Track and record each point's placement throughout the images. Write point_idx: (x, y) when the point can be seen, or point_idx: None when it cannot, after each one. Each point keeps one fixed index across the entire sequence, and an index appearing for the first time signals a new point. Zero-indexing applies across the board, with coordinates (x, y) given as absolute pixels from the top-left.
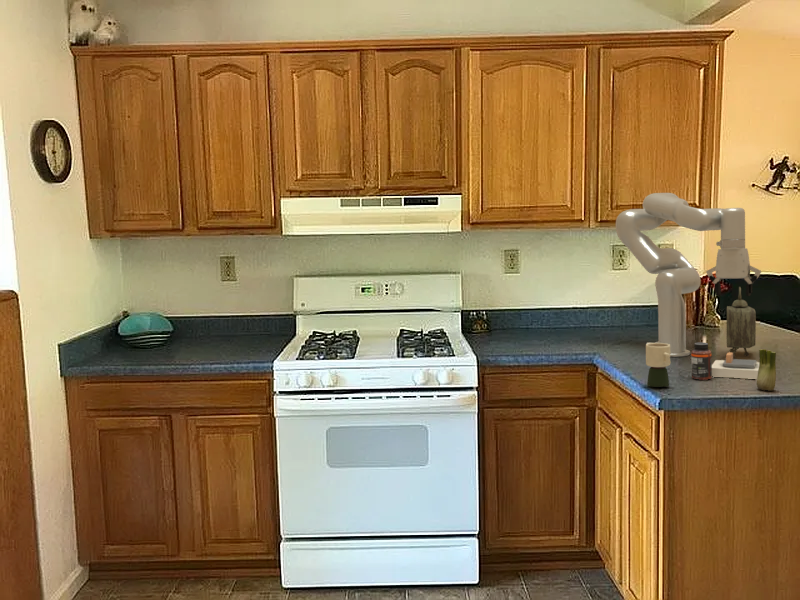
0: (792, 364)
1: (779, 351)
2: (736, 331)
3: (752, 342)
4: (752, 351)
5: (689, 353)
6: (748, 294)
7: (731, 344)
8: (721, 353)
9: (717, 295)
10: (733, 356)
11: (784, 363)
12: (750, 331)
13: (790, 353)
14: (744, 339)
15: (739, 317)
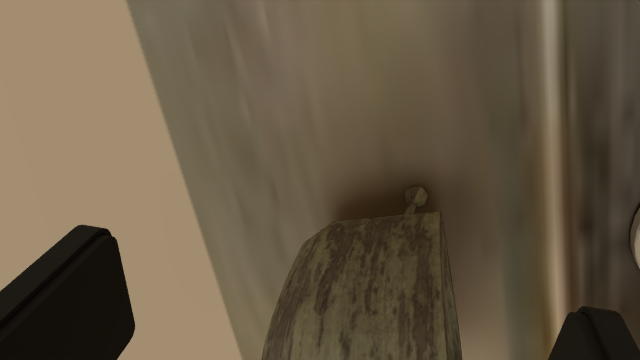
0: (172, 135)
1: None
2: (386, 252)
3: (317, 234)
4: None
5: (637, 220)
6: (72, 241)
7: (418, 215)
8: (477, 289)
9: (585, 311)
10: (410, 188)
11: (203, 146)
12: (310, 259)
13: (241, 329)
14: (349, 231)
15: (359, 323)
